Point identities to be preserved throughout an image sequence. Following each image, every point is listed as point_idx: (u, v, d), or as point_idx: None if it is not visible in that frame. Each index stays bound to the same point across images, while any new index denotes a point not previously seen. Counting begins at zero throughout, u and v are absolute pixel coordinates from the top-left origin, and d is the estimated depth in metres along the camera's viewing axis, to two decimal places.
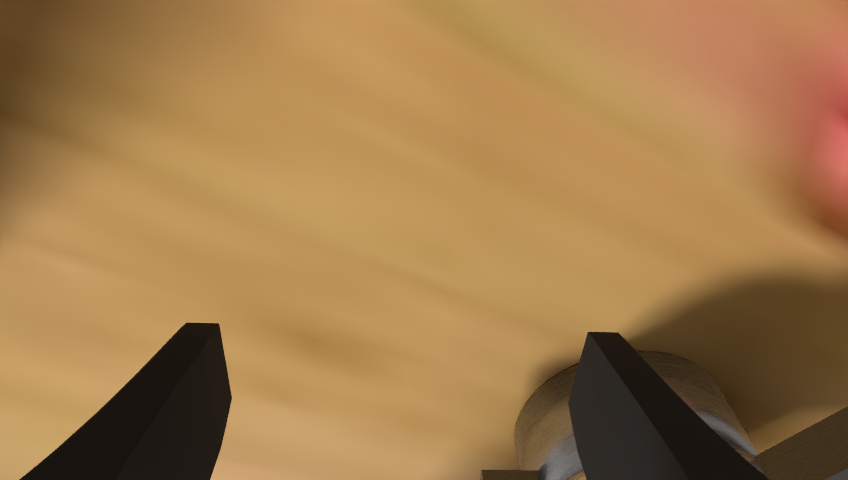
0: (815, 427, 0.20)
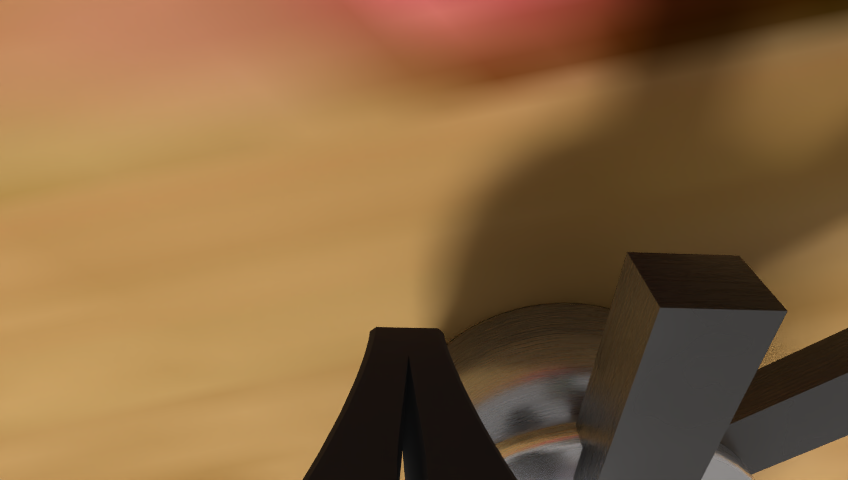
0: (597, 362, 0.14)
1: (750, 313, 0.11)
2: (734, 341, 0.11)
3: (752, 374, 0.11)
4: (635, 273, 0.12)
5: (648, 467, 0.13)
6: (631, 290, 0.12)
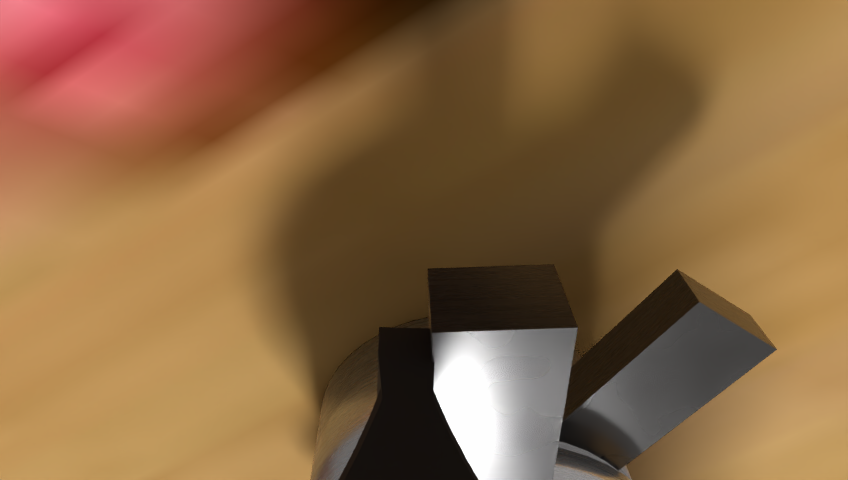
0: None
1: (537, 332, 0.10)
2: (530, 363, 0.10)
3: (562, 396, 0.10)
4: (429, 292, 0.11)
5: None
6: (429, 310, 0.11)
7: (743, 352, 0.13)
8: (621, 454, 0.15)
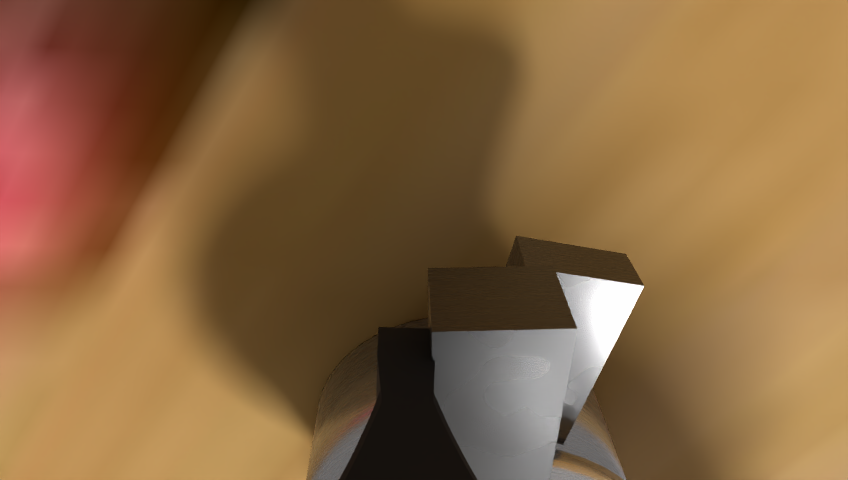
0: None
1: (537, 332, 0.10)
2: (529, 363, 0.10)
3: (561, 397, 0.10)
4: (429, 292, 0.11)
5: None
6: (429, 310, 0.11)
7: (610, 299, 0.12)
8: None
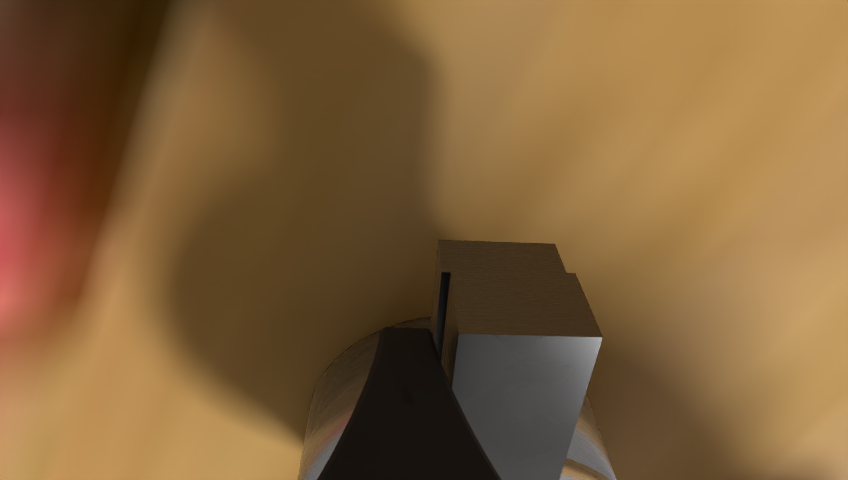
0: None
1: (563, 339, 0.10)
2: (551, 369, 0.10)
3: (578, 404, 0.10)
4: (452, 293, 0.11)
5: None
6: (451, 311, 0.11)
7: None
8: None
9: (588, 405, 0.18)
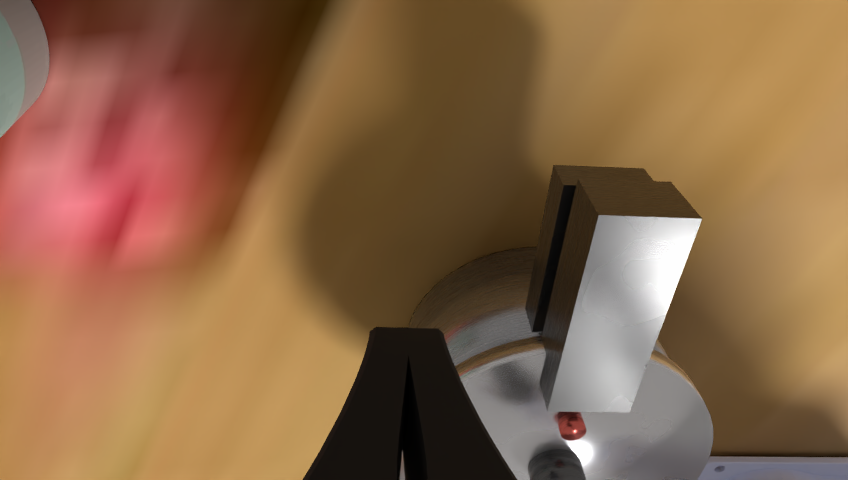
0: (556, 277, 0.16)
1: (672, 220, 0.13)
2: (661, 245, 0.14)
3: (677, 275, 0.14)
4: (583, 193, 0.14)
5: (598, 362, 0.16)
6: (581, 208, 0.14)
7: None
8: None
9: None
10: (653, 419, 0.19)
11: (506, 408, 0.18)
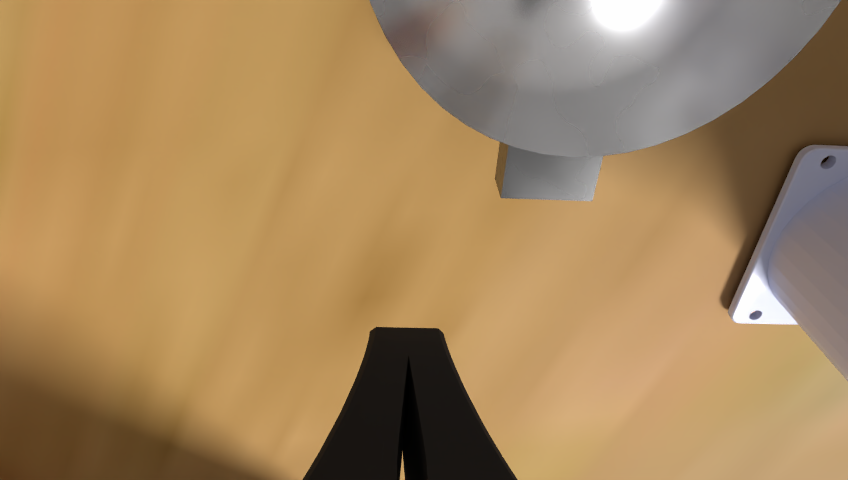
0: None
1: None
2: None
3: None
4: None
5: None
6: None
7: None
8: None
9: None
10: None
11: None
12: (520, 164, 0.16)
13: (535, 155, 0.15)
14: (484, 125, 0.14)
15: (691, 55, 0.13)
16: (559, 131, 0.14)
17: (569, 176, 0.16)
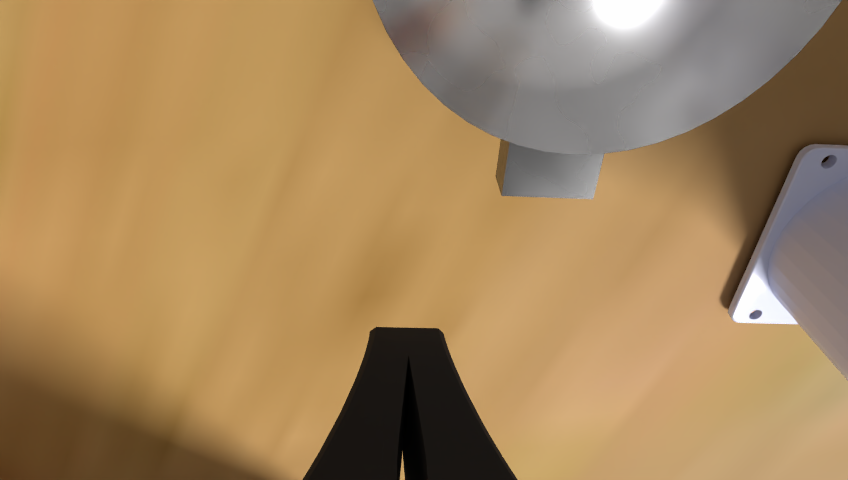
0: None
1: None
2: None
3: None
4: None
5: None
6: None
7: None
8: None
9: None
10: None
11: None
12: (521, 162, 0.16)
13: (536, 152, 0.15)
14: (485, 122, 0.14)
15: (692, 52, 0.13)
16: (560, 128, 0.14)
17: (570, 174, 0.16)
